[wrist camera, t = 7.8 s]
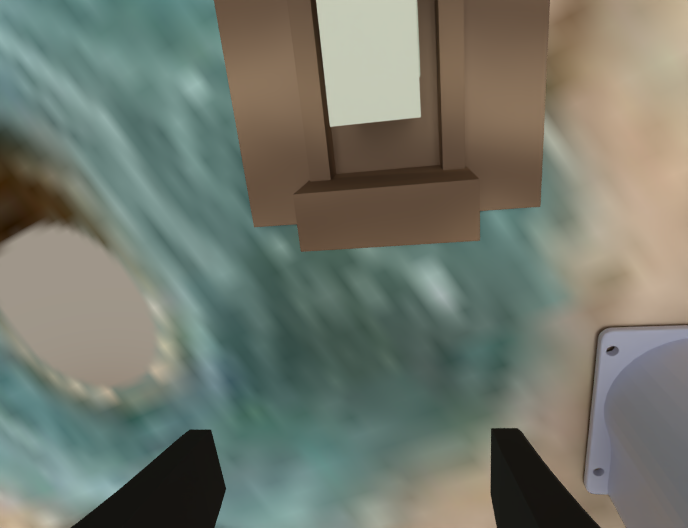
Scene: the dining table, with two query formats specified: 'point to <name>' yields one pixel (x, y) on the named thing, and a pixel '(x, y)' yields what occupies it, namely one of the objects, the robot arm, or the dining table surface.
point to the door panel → (370, 60)
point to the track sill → (390, 125)
